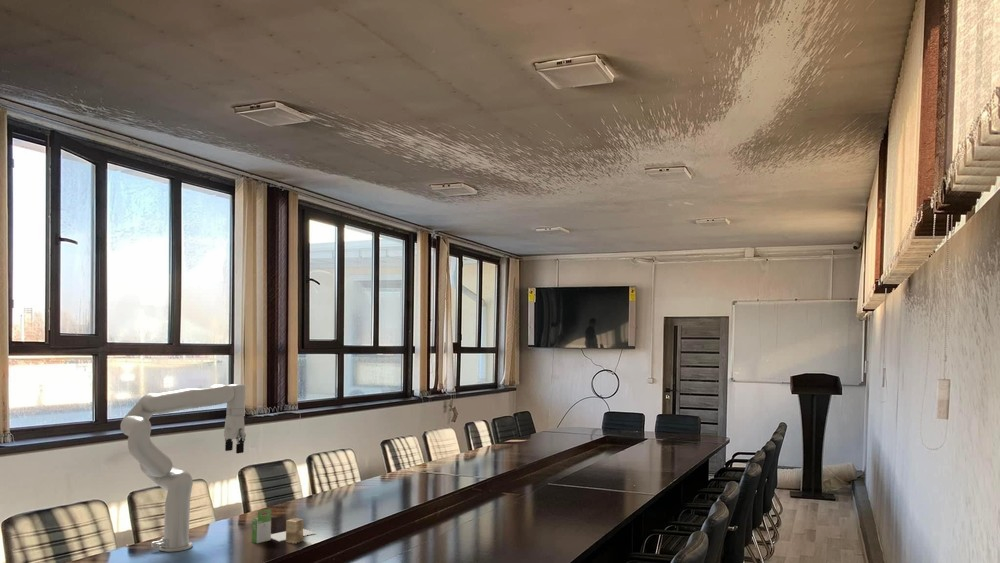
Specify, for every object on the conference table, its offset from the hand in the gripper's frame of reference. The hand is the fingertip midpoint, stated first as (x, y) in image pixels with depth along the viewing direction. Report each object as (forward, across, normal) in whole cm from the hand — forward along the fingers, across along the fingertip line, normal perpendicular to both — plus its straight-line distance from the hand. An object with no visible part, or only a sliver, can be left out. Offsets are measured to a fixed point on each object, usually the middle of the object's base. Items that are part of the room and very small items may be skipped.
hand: (234, 451), depth 328 cm
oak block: (+37, +25, +15) cm, 47 cm away
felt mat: (+37, +15, +20) cm, 44 cm away
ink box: (+37, +15, +6) cm, 40 cm away
